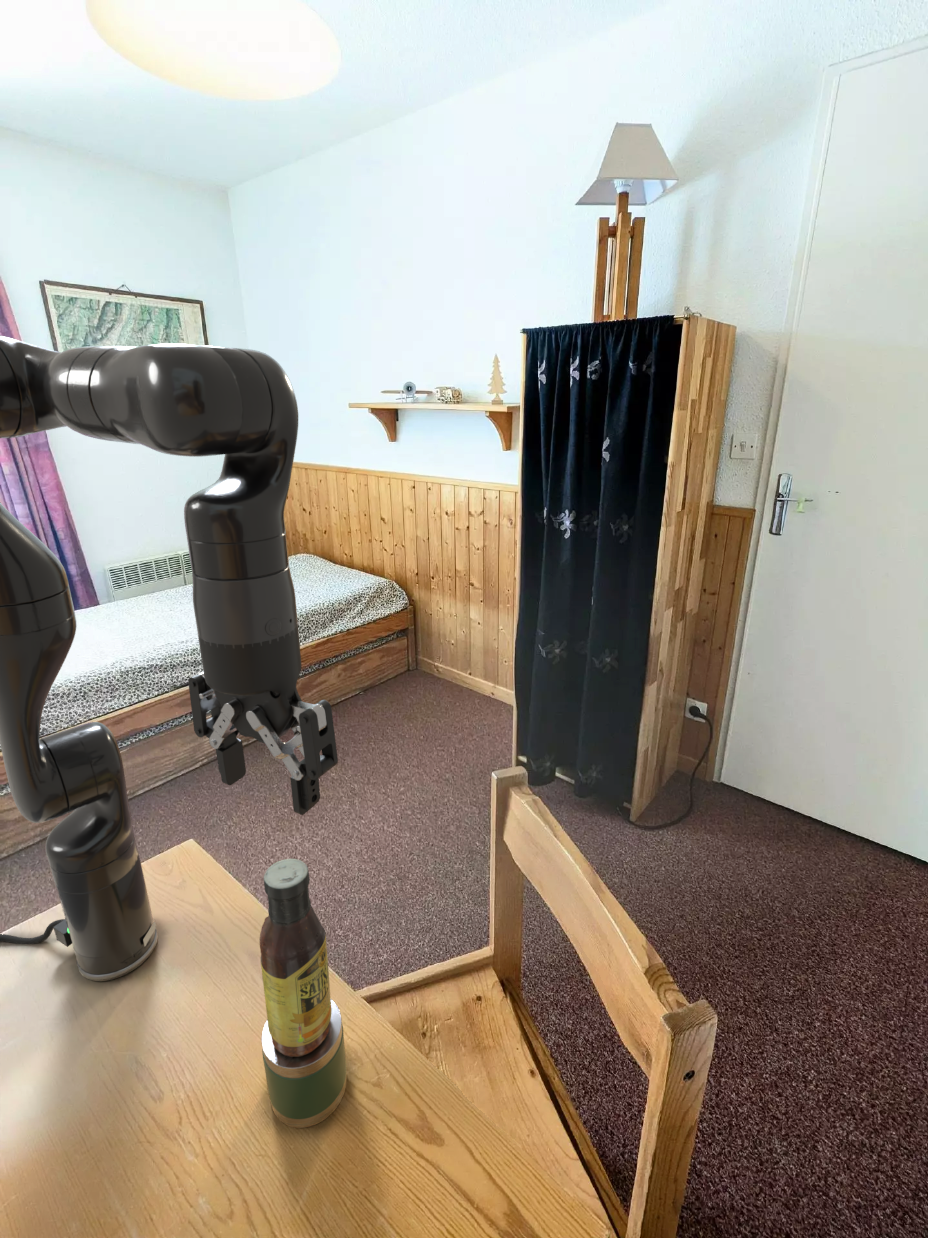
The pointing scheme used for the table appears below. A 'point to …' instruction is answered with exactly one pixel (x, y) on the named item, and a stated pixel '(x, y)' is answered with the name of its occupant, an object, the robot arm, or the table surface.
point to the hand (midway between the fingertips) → (268, 793)
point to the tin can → (307, 1077)
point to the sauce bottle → (294, 962)
